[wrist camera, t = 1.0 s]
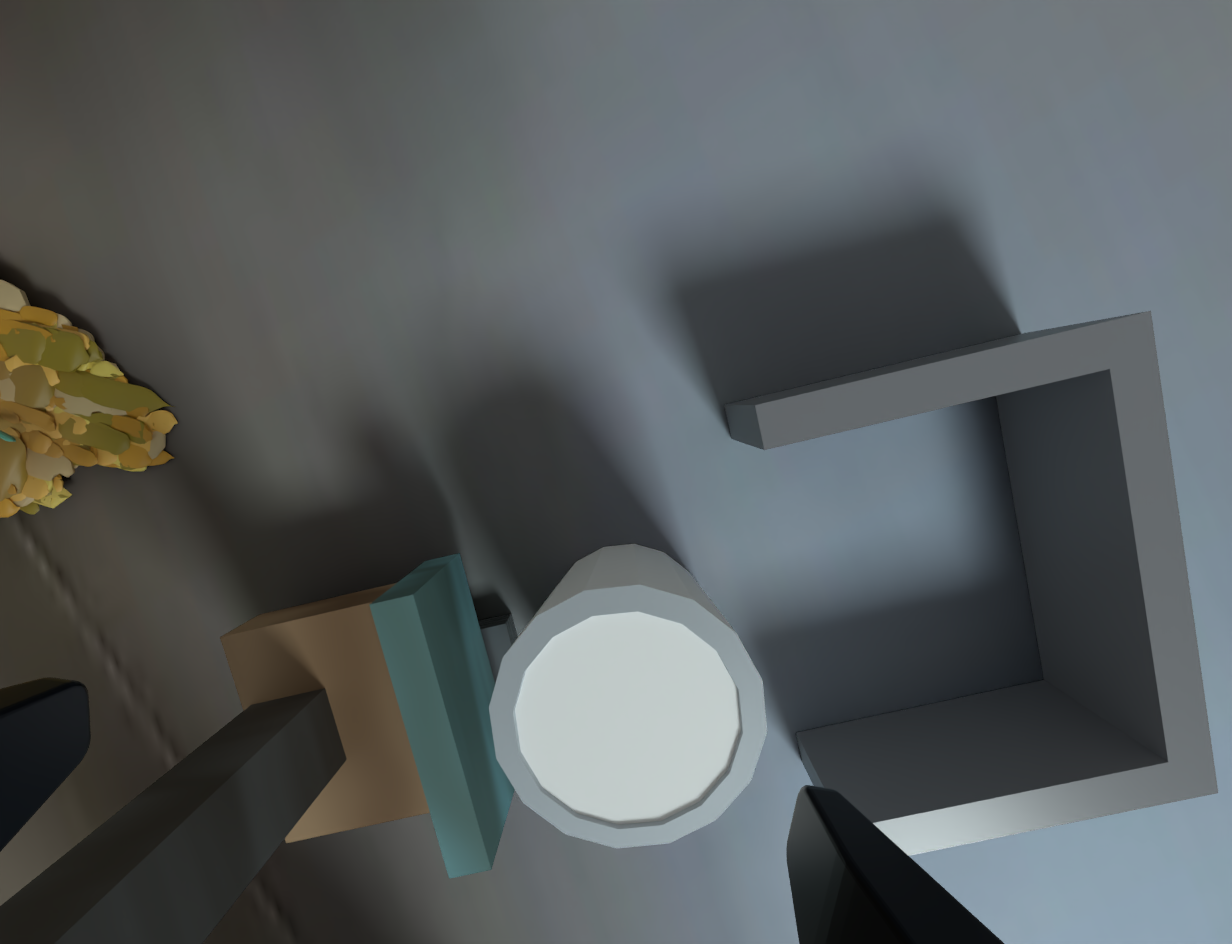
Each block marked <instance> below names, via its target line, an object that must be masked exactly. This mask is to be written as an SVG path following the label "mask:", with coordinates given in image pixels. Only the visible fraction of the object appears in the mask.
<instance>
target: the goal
mask: <svg viewBox="0 0 1232 944" xmlns="http://www.w3.org/2000/svg"><path fill="white" fill-rule="evenodd" d="M992 396H996V400H997V406H998V412H999V418H1000V424H1001V430H1002V436H1003V442H1004V447H1005V453H1006V459H1007V465H1008V471H1009V477H1010V483H1011V489H1012V495H1013V500H1014V506H1015V512H1016V518H1017V524H1018V530H1019V536H1020V542H1021V548H1022V553H1023V559H1024V565H1025V571H1026V577H1027V583H1028V589H1029V595H1030V601H1031V607H1032V612H1033V618H1034V624H1035V630H1036V636H1037V642H1038V648H1039V654H1040V660H1041V665H1042V671H1043V677H1044V680H1040V681H1036V682H1031V683H1026V684H1022V685H1017V686H1012V687H1008V688H1003V689H998V690H994V691H989V692H984V693H980V694H975V695H970V696H965V697H961V698H956V699H951V700H947V701H942V702H937V703H933V704H928V705H923V706H919V707H914V708H909V709H905V710H900V711H895V712H891V713H886V714H881V715H877V716H872V717H867V718H862V719H858V720H853V721H848V722H844V723H839V724H834V725H830V726H825V727H820V728H816V729H811V730H806V731H802V732H797V733H796V735H797V740H798V745H799V749H800V754H801V758H802V763H803V765H804V767H805V769H806V771H807V773H808V775H809V777H810V779H811V781H812V783H813V785H814V786H817V787H824V788H831V789H834V790H836V791H838V792H839V793H840V794H841V795H842V796H844V797H845V798H846V799H847V800H848V801H849V802H850V803H851V804H852V805H853V806H854V807H856V808H857V809H858V810H859V811H860V812H861V813H862V814H863V815H864V816H865V817H867V818H868V819H869V820H870V821H871V822H872V823H873V824H874V825H875V826H876V827H877V828H879V829H880V830H881V831H882V832H883V833H884V834H885V835H886V836H887V837H888V838H889V839H891V840H892V841H893V842H894V843H895V844H896V845H897V846H898V847H899V848H900V849H901V850H903V851H904V852H905V853H906V854H907V855H908V856H910V855H915V854H920V853H925V852H930V851H935V850H940V849H944V848H949V847H954V846H959V845H964V844H969V843H974V842H979V841H984V840H989V839H994V838H999V837H1004V836H1009V835H1013V834H1018V833H1023V832H1028V831H1033V830H1038V829H1043V828H1048V827H1053V826H1058V825H1063V824H1068V823H1073V822H1078V821H1082V820H1087V819H1092V818H1097V817H1102V816H1107V815H1112V814H1117V813H1122V812H1127V811H1132V810H1137V809H1142V808H1147V807H1151V806H1156V805H1161V804H1166V803H1171V802H1176V801H1181V800H1186V799H1191V798H1196V797H1201V796H1206V795H1211V794H1215V793H1218V788H1217V781H1216V773H1215V766H1214V759H1213V752H1212V745H1211V738H1210V731H1209V723H1208V716H1207V709H1206V702H1205V695H1204V688H1203V681H1202V673H1201V666H1200V659H1199V652H1198V645H1197V638H1196V631H1195V623H1194V616H1193V609H1192V602H1191V595H1190V588H1189V581H1188V573H1187V566H1186V559H1185V552H1184V545H1183V538H1182V531H1181V523H1180V516H1179V509H1178V502H1177V495H1176V488H1175V481H1174V473H1173V466H1172V459H1171V452H1170V445H1169V438H1168V431H1167V423H1166V416H1165V409H1164V402H1163V395H1162V388H1161V381H1160V373H1159V366H1158V359H1157V352H1156V345H1155V338H1154V331H1153V323H1152V316H1151V311H1148V312H1142V313H1136V314H1131V315H1125V316H1119V317H1114V318H1108V319H1102V320H1097V321H1091V322H1085V323H1080V324H1074V325H1068V326H1063V327H1057V328H1051V329H1046V330H1040V331H1034V332H1029V333H1023V334H1019V335H1014V336H1010V337H1006V338H1002V339H998V340H994V341H989V342H985V343H981V344H977V345H973V346H968V347H964V348H960V349H956V350H952V351H947V352H943V353H939V354H935V355H931V356H927V357H922V358H918V359H914V360H910V361H906V362H901V363H897V364H893V365H889V366H885V367H881V368H876V369H872V370H868V371H864V372H860V373H855V374H851V375H847V376H843V377H839V378H834V379H830V380H826V381H822V382H818V383H814V384H809V385H805V386H801V387H797V388H793V389H788V390H784V391H780V392H776V393H772V394H767V395H763V396H759V397H755V398H751V399H747V400H742V401H738V402H734V403H730V404H726V405H724V406H725V410H726V415H727V420H728V424H729V429H730V433H731V438H732V439H734V440H737V441H739V442H742V443H745V444H748V445H751V446H754V447H757V448H760V449H763V450H767V449H771V448H775V447H779V446H784V445H788V444H792V443H796V442H801V441H805V440H809V439H813V438H818V437H822V436H826V435H830V434H835V433H839V432H843V431H847V430H852V429H856V428H860V427H865V426H869V425H873V424H877V423H882V422H886V421H890V420H894V419H899V418H903V417H907V416H911V415H916V414H920V413H924V412H928V411H933V410H937V409H941V408H945V407H950V406H954V405H958V404H962V403H967V402H971V401H975V400H979V399H984V398H988V397H992Z"/></svg>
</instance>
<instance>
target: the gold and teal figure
mask: <svg viewBox="0 0 1232 944" xmlns="http://www.w3.org/2000/svg"><path fill="white" fill-rule="evenodd" d="M123 375H124V374H123V373H122V372H121V371H120V370H119V368H118V366H117V365H116V363H110V362H108V361H105V354H104V352H103V351H102V349H100V348H99V347H98V346H97V345H96V343H95V340H94V337H93V335H92V334H91V333H90V332H88V331H85V330H82V329H78V328H77V327H74V326H72V323H71V322H70V321H69V319H68V318H66V317H65V316H63V315H60V314H57V313H55V312H53V311H50V310H46V309H42V308H38V307H33V306H30V303H29V301H28V298H27V296H26V294H25V292H24V291H22V290H21V289H19V288H17V287H16V286H14V285H13V284H11V283H8V282H6V281H4V280H0V517H9V516H12V515H14V514H15V513H17V511H18V510H19V509H20V510H22V511H23V512H25V513H28V514H36V513H37V512H38V511H39V504H41V505H43V506H47V507H50V508H55V507H56V506H57V505H59V504H60V503H62V502H63V501H64V500H66V499H67V498H70V496H71V495H72V494H71V493H69V492H68V491H67V490H66V489H65V488H63V486H64V481H63V480H62V479H61V478H62V477H61V476H60V474H61V475H63V476H65V477H70V476H71V475H72V474H73V473H75V469H74V468H77V467H78V466H79V465H82V466H86V467H90V466H93V465H95V464H99V465H102V466H107V467H117V468H120V469H123V470H127V471H132V472H133V471H144V470H146V469H147V466H154V465H161V464H164V463H166V462H167V461H168V460H170V459H173V458H174V457H172V456H171V455H170V454H168V453H167V452H166V451H164V450H163V449H164V448H165V446H166V435H165V434H166V433H168V432H170V430H171V429H172V427H173V426H174V425H175V424H178V422H177V420H176V419H175V417H174V415H173V414H172V413H170V412H168V411H166V410H158V411H155V410H157V409H160V408H162V407H166V406H170V405H168V404H167V403H165V402H164V401H163V400H161V399H160V398H159V397H158V396H157V395H156V394H155V393H154V392H152V391H151V390H149V389H147V388H145V387H141V386H137V385H132V384H129V383H128V380H127V378H126V377H124V376H123ZM172 407H174V406H172ZM153 411H155V412H153ZM59 473H60V474H59Z"/></svg>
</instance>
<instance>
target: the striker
mask: <svg viewBox="0 0 1232 944" xmlns="http://www.w3.org/2000/svg"><path fill="white" fill-rule="evenodd" d="M220 639H221V642H222V645H223V648H224V651H225V654H226V658H227V661H228V664H229V667H230V670H231V673H232V676H233V679H234V682H235V685H236V689H237V692H238V695H239V698H240V701H241V704H242V707H243V710H244V711H243V712H242V713H240V714H239V715H238V716H237V717H235V718H234V719H233V720H232V721H231V722H229V723H228V724H227V725H226V726H224V727H223V728H222V729H221V730H219V731H218V732H217V733H216V734H214V735H213V736H212V737H211V738H209V739H208V740H207V741H206V742H204V743H203V744H202V745H201V746H199V747H198V748H197V749H196V750H194V751H193V752H192V753H191V754H189V755H188V756H187V757H186V758H184V759H183V760H182V761H181V762H179V763H178V764H177V765H176V766H174V767H173V768H172V769H171V770H169V771H168V772H167V773H166V774H164V775H163V776H162V777H161V778H159V779H158V780H157V781H156V782H155V783H153V784H152V785H151V786H150V787H148V788H147V789H146V790H145V791H143V792H142V793H141V794H140V795H138V796H137V797H136V798H135V799H133V800H132V801H131V802H130V803H128V804H127V805H126V806H125V807H123V808H122V809H121V810H120V811H118V812H117V813H116V814H115V815H113V816H112V817H111V818H110V819H108V820H107V821H106V822H105V823H103V824H102V825H101V826H100V827H98V828H97V829H96V830H95V831H93V832H92V833H91V834H90V835H88V836H87V837H86V838H85V839H83V840H82V841H81V842H80V843H78V844H77V845H76V846H75V847H74V848H72V849H71V850H70V851H69V852H67V853H66V854H65V855H64V856H62V857H61V858H60V859H59V860H57V861H56V862H55V863H54V864H52V865H51V866H50V867H49V868H47V869H46V870H45V871H44V872H42V873H41V874H40V875H39V876H37V877H36V878H35V879H34V880H32V881H31V882H30V883H29V884H27V885H26V886H25V887H24V888H22V889H21V890H20V891H19V892H17V893H16V894H15V895H14V896H12V897H11V898H10V899H9V900H7V901H6V902H5V903H4V904H2V905H1V906H0V944H202V943H203V942H204V940H205V939H206V938H207V937H208V935H209V934H210V933H211V932H212V930H213V929H214V928H215V926H216V925H217V924H218V923H219V921H220V920H221V919H222V918H223V916H224V915H225V914H226V912H227V911H228V910H229V909H230V907H231V906H232V905H233V904H234V902H235V901H236V900H237V898H238V897H239V896H240V895H241V893H242V892H243V891H244V890H245V888H246V887H247V886H248V885H249V883H250V882H251V881H252V879H253V878H254V877H255V876H256V874H257V873H258V872H259V871H260V869H261V868H262V867H263V865H264V864H265V863H266V862H267V860H268V859H269V858H270V857H271V855H272V854H273V853H274V851H275V850H276V849H277V848H278V846H279V845H280V844H281V843H282V841H283V840H284V839H285V841H286V843H290V842H295V841H299V840H304V839H309V838H313V837H318V836H323V835H327V834H332V833H337V832H342V831H346V830H351V829H356V828H360V827H365V826H370V825H374V824H379V823H384V822H388V821H393V820H398V819H402V818H407V817H412V816H416V815H421V814H426V813H430V814H431V818H432V821H433V825H434V828H435V831H436V835H437V838H438V842H439V845H440V849H441V852H442V855H443V859H444V862H445V866H446V869H447V873H448V876H449V878H454V877H459V876H464V875H469V874H473V873H478V872H483V871H488V870H491V869H492V865H493V862H494V858H495V855H496V852H497V848H498V845H499V841H500V838H501V834H502V831H503V827H504V824H505V821H506V817H507V814H508V810H509V807H510V803H511V800H512V797H513V793H514V790H515V789H514V787H513V786H512V784H511V782H510V781H509V779H508V777H507V776H506V774H505V772H504V771H503V769H502V767H501V766H500V764H499V762H498V761H497V759H496V754H495V747H494V740H493V733H492V726H491V720H490V713H489V705H490V702H491V698H492V694H493V691H494V687H495V681H494V677H493V674H492V670H491V666H490V663H489V659H488V656H487V652H486V648H485V645H484V641H483V637H482V634H481V630H480V626H479V623H478V619H477V615H476V612H475V608H474V604H473V601H472V597H471V593H470V590H469V586H468V582H467V579H466V575H465V571H464V568H463V564H462V560H461V557H460V553H458V554H454V555H449V556H445V557H441V558H436V559H432V560H428V561H425V562H423V563H422V564H421V565H419V566H418V567H417V568H416V569H414V570H413V571H412V572H410V573H409V574H408V575H407V576H405V577H404V578H403V579H401V580H400V581H399V582H398V583H394V584H389V585H385V586H381V587H376V588H372V589H368V590H363V591H359V592H355V593H350V594H346V595H342V596H337V597H333V598H329V599H325V600H320V601H316V602H312V603H307V604H303V605H299V606H294V607H290V608H286V609H281V610H277V611H273V612H268V613H264V614H260V615H258V616H256V617H254V618H253V619H251V620H249V621H247V622H246V623H244V624H242V625H240V626H239V627H237V628H235V629H233V630H232V631H230V632H228V633H226V634H225V635H223V636H221V637H220Z"/></svg>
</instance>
